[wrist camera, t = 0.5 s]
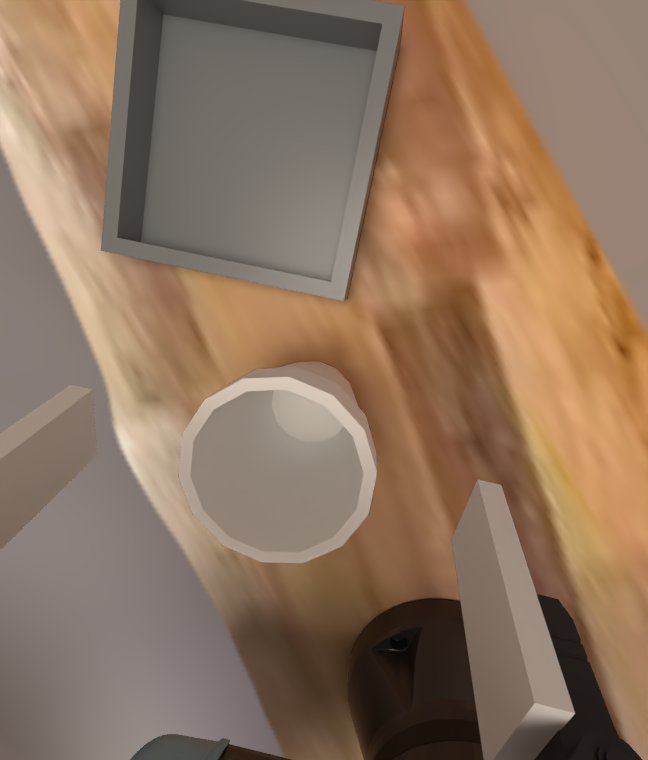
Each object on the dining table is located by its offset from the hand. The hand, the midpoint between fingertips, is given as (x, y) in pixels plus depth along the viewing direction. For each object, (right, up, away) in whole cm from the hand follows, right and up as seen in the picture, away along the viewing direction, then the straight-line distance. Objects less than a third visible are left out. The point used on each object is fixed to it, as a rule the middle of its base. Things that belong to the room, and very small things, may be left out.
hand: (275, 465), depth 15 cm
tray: (-3, +18, +15) cm, 24 cm away
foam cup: (+1, +1, +18) cm, 19 cm away
